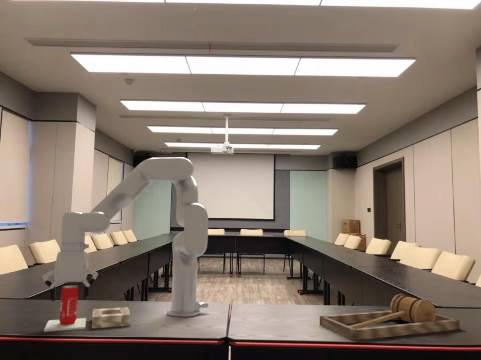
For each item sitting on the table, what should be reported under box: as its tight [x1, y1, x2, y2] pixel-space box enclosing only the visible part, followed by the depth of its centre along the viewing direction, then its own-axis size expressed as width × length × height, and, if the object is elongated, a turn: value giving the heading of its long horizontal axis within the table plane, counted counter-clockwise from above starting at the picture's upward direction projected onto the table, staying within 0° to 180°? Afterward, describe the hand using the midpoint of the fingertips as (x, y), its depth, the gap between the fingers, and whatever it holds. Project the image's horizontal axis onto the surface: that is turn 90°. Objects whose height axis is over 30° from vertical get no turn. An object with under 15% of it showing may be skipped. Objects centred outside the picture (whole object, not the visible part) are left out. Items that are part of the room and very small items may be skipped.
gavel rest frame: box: [319, 310, 461, 341], centre depth 132 cm, size 45×19×3 cm, turn 111°
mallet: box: [348, 293, 437, 329], centre depth 131 cm, size 12×38×10 cm, turn 113°
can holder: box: [91, 306, 132, 329], centre depth 130 cm, size 12×12×4 cm
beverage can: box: [58, 285, 79, 325], centre depth 126 cm, size 5×5×12 cm
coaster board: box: [43, 317, 87, 333], centre depth 125 cm, size 12×12×1 cm
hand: (69, 299), depth 126 cm, fingers open, 9 cm apart
